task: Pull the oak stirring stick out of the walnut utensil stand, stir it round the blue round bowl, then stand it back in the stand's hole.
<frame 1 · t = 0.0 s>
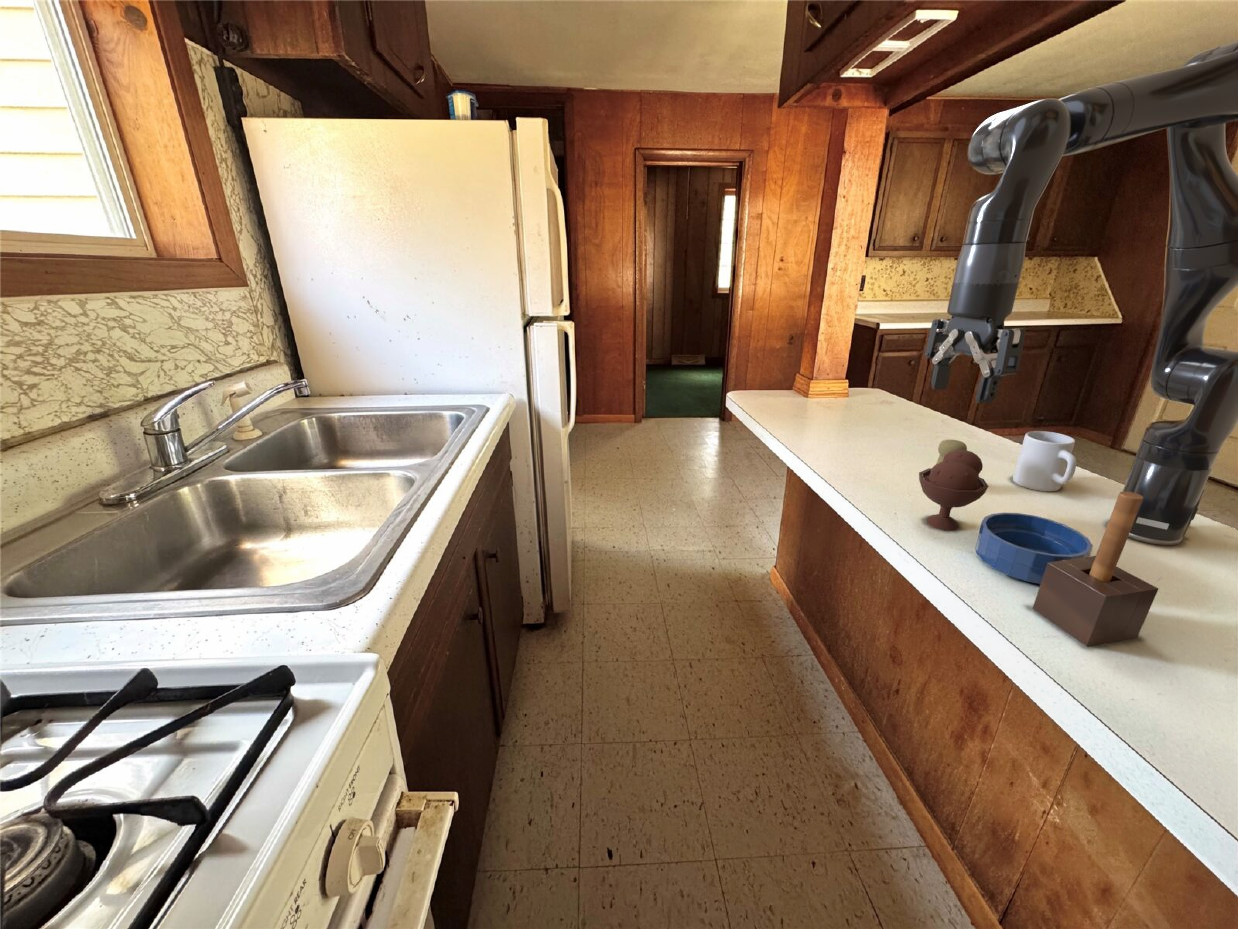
hand: (959, 395, 76), 29 cm above the countertop, tool pointing down, fingers open, 8 cm apart
ice cream bowl: (941, 524, 99), on the countertop
blue round bowl: (1024, 564, 85), on the countertop
cork: (943, 488, 113), on the countertop
mug: (1041, 487, 112), on the countertop
stirring stick: (1105, 562, 68), in the utensil stand
utensil stand: (1082, 622, 72), on the countertop
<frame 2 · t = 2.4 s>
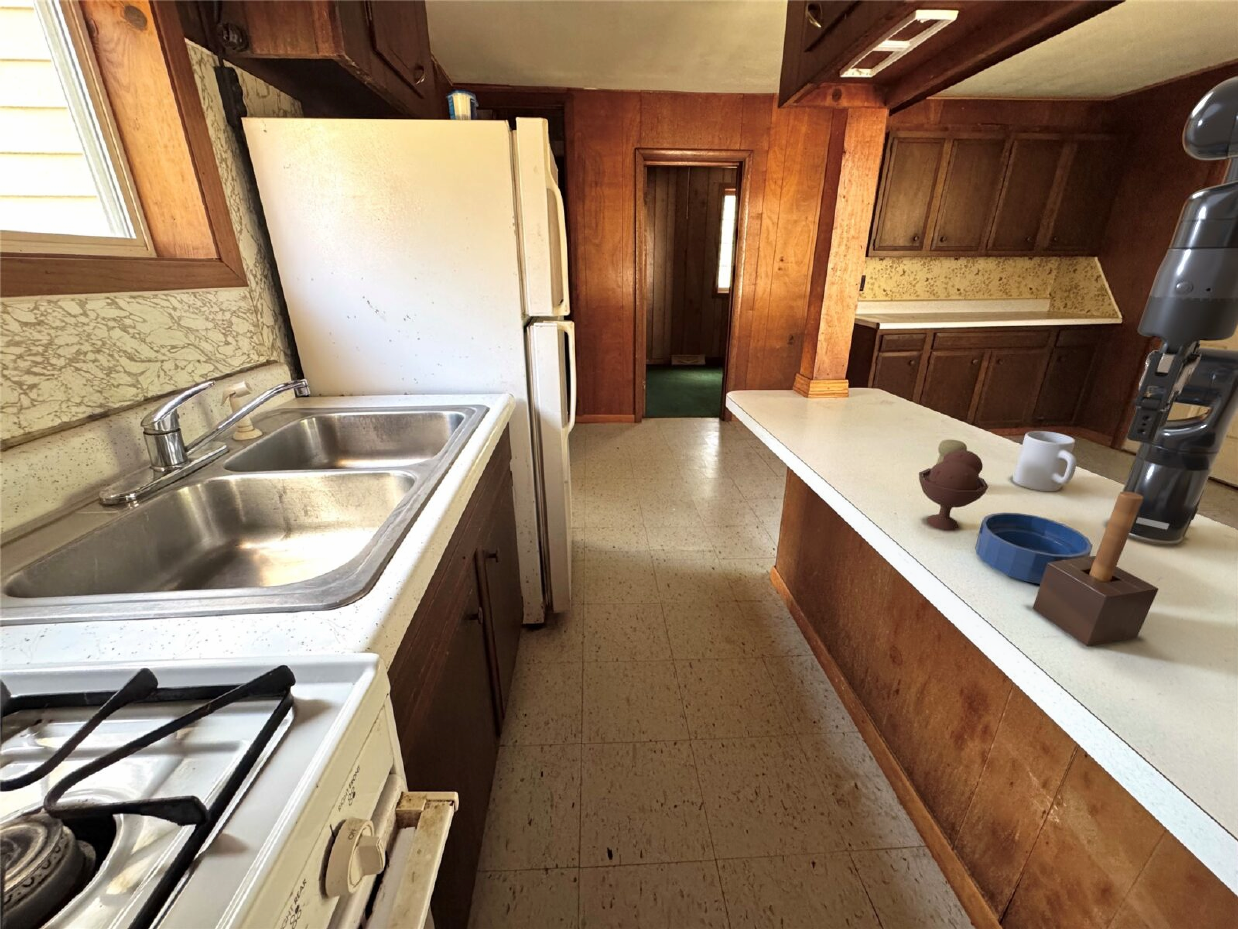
hand: (1145, 432, 62), 28 cm above the countertop, tool pointing down, fingers open, 8 cm apart
nothing on the countertop moved.
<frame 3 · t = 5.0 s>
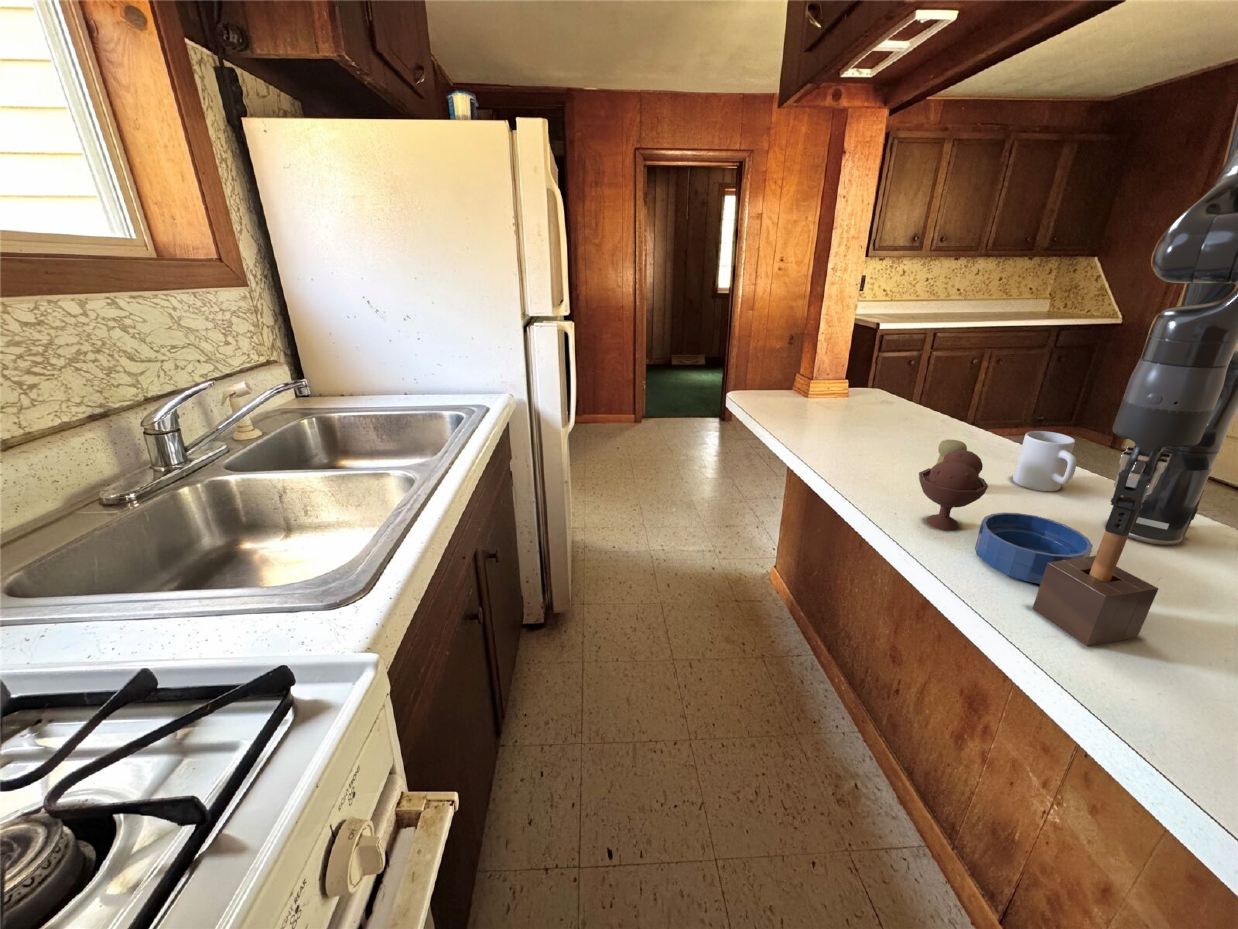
hand: (1118, 528, 66), 15 cm above the countertop, tool pointing down, fingers closed on stirring stick, 2 cm apart
stirring stick: (1105, 562, 68), in the utensil stand, touching gripper
everything else where it was.
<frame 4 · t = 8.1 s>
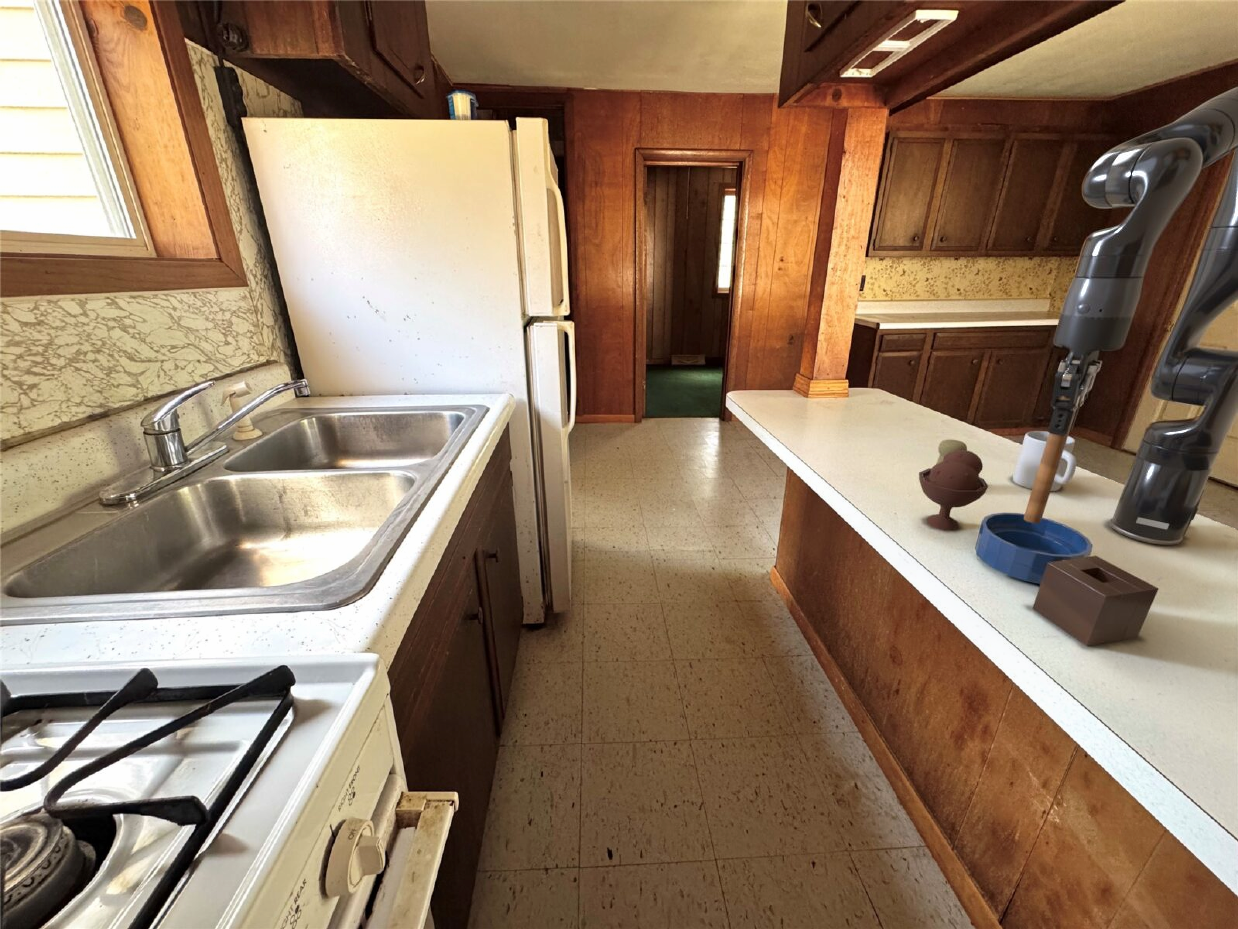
hand: (1059, 431, 76), 24 cm above the countertop, tool pointing down, fingers closed on stirring stick, 2 cm apart
stirring stick: (1049, 462, 78), point 18 cm above the countertop, touching gripper
everything else where it was.
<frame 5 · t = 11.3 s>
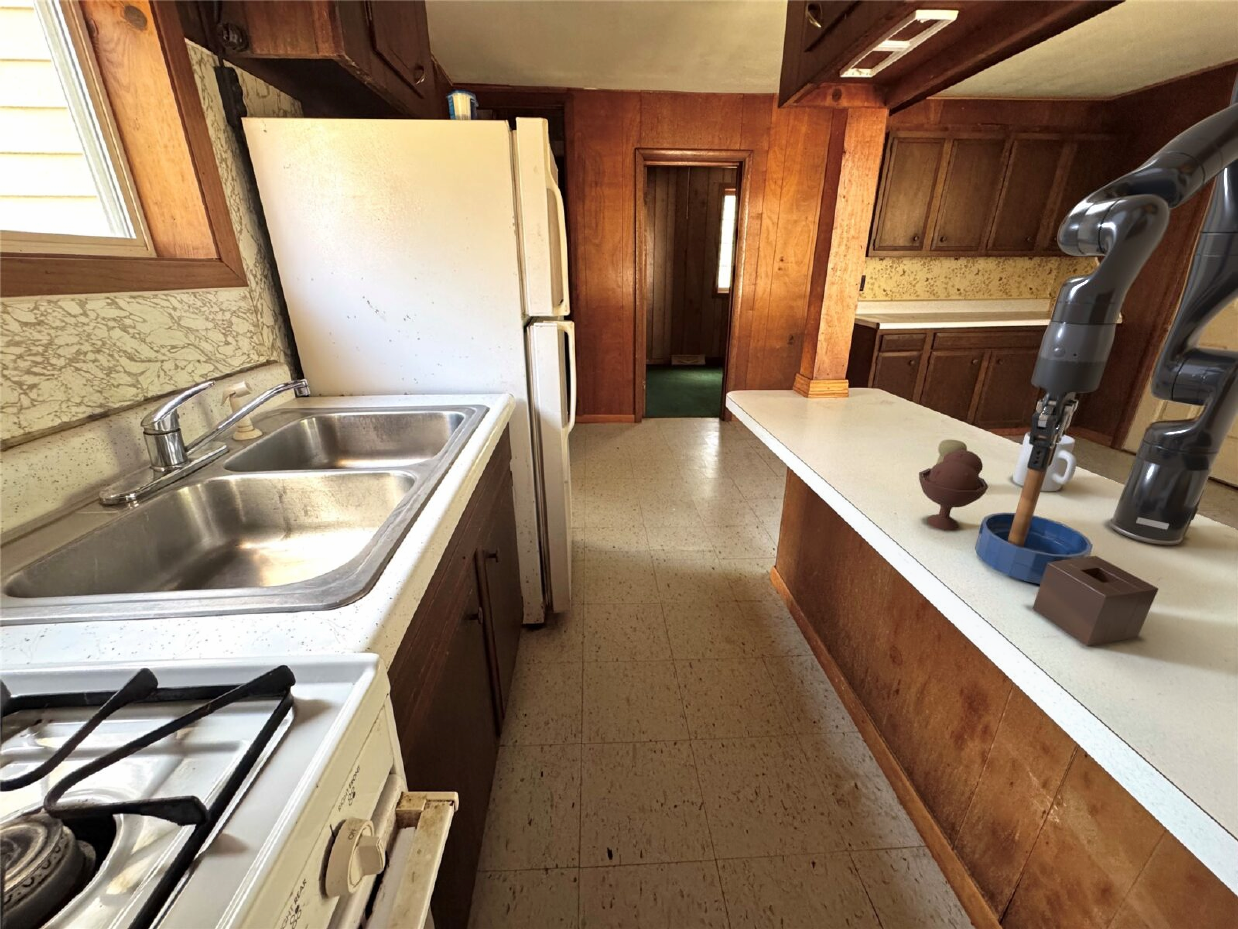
hand: (1038, 466, 79), 18 cm above the countertop, tool pointing down, fingers closed on stirring stick, 2 cm apart
stirring stick: (1029, 496, 81), point 13 cm above the countertop, touching gripper
everything else where it was.
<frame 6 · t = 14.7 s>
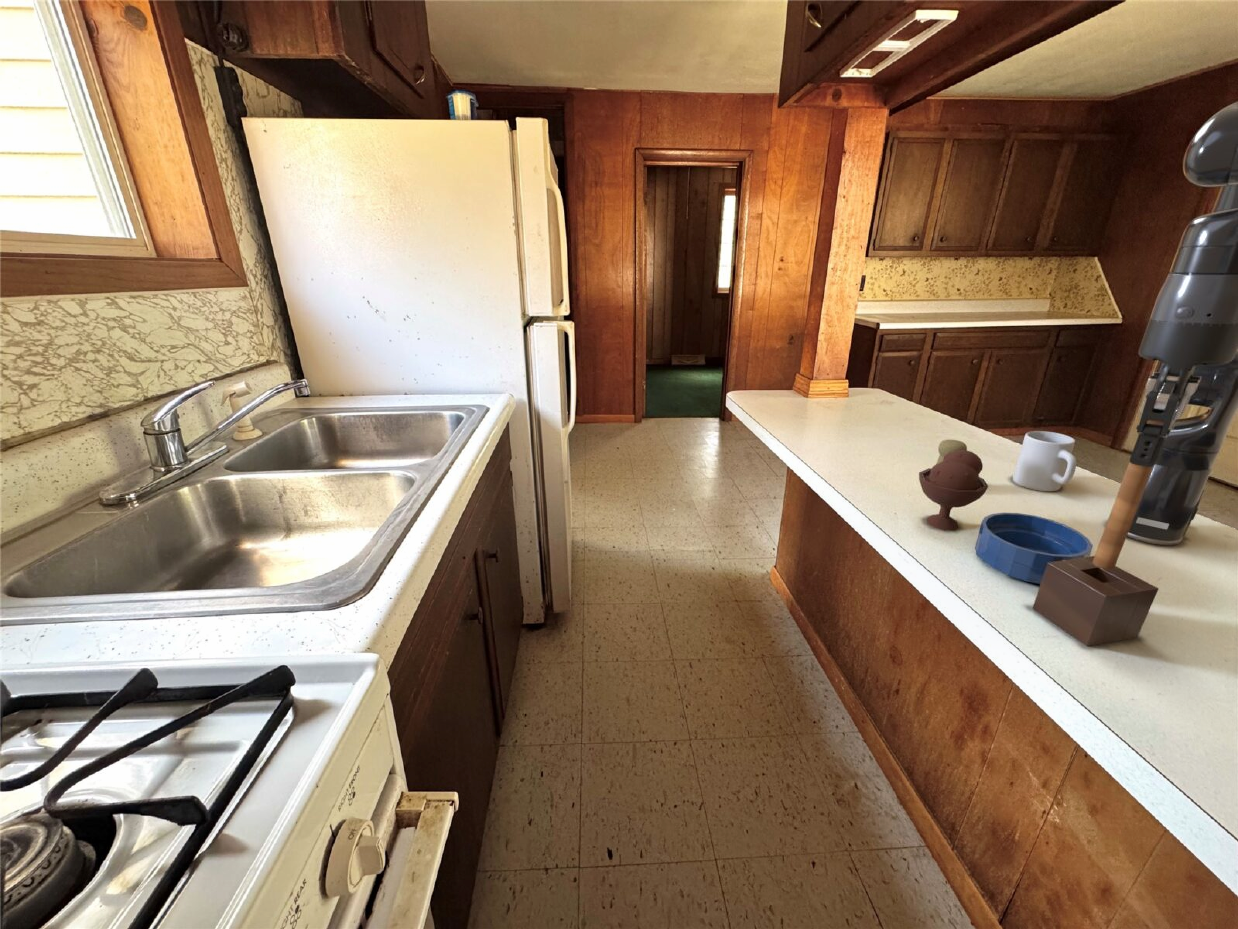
hand: (1143, 461, 63), 25 cm above the countertop, tool pointing down, fingers closed on stirring stick, 2 cm apart
stirring stick: (1128, 498, 65), point 20 cm above the countertop, touching gripper
everything else where it was.
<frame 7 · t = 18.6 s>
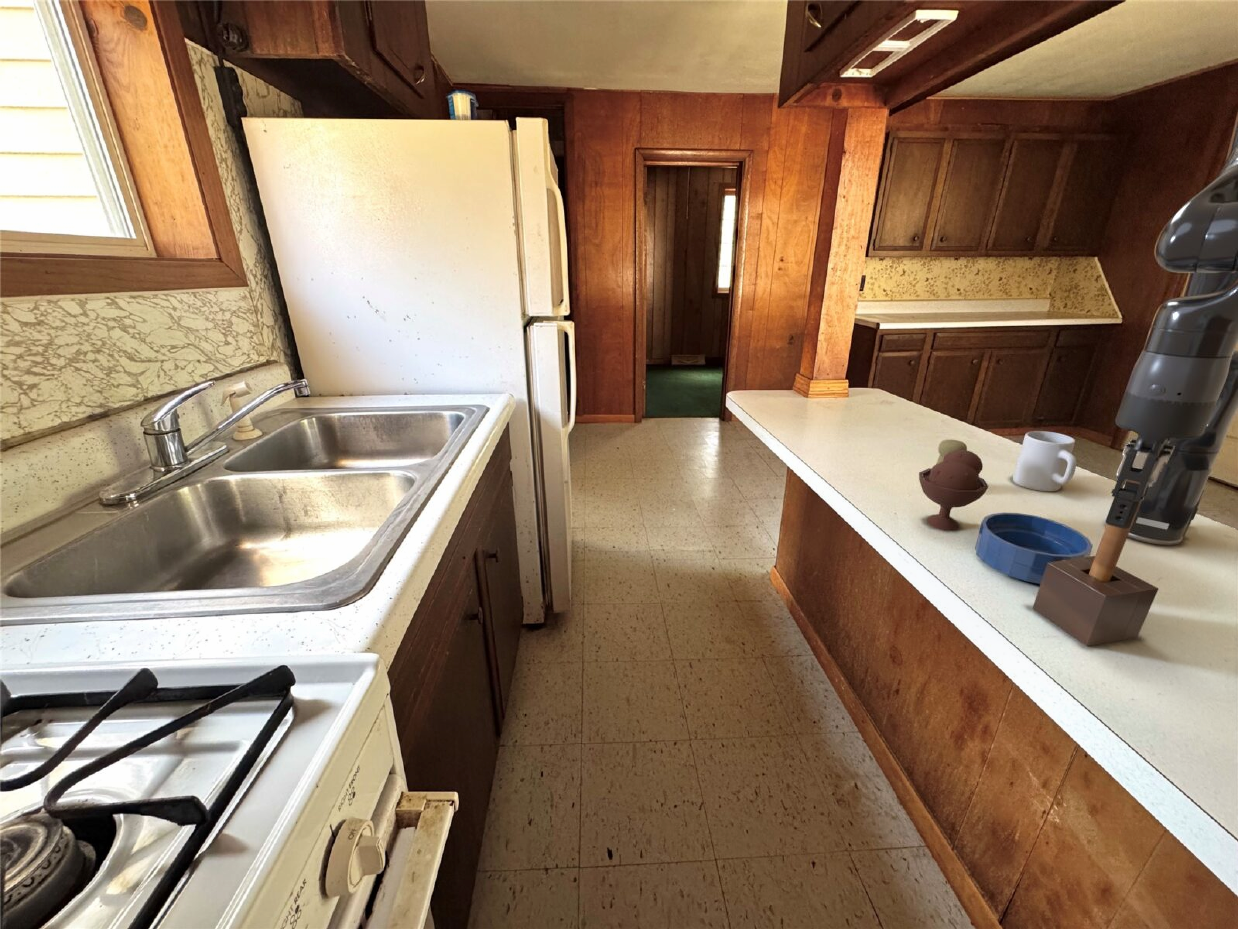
hand: (1123, 514, 65), 17 cm above the countertop, tool pointing down, fingers open, 8 cm apart
stirring stick: (1105, 562, 68), in the utensil stand
everything else where it was.
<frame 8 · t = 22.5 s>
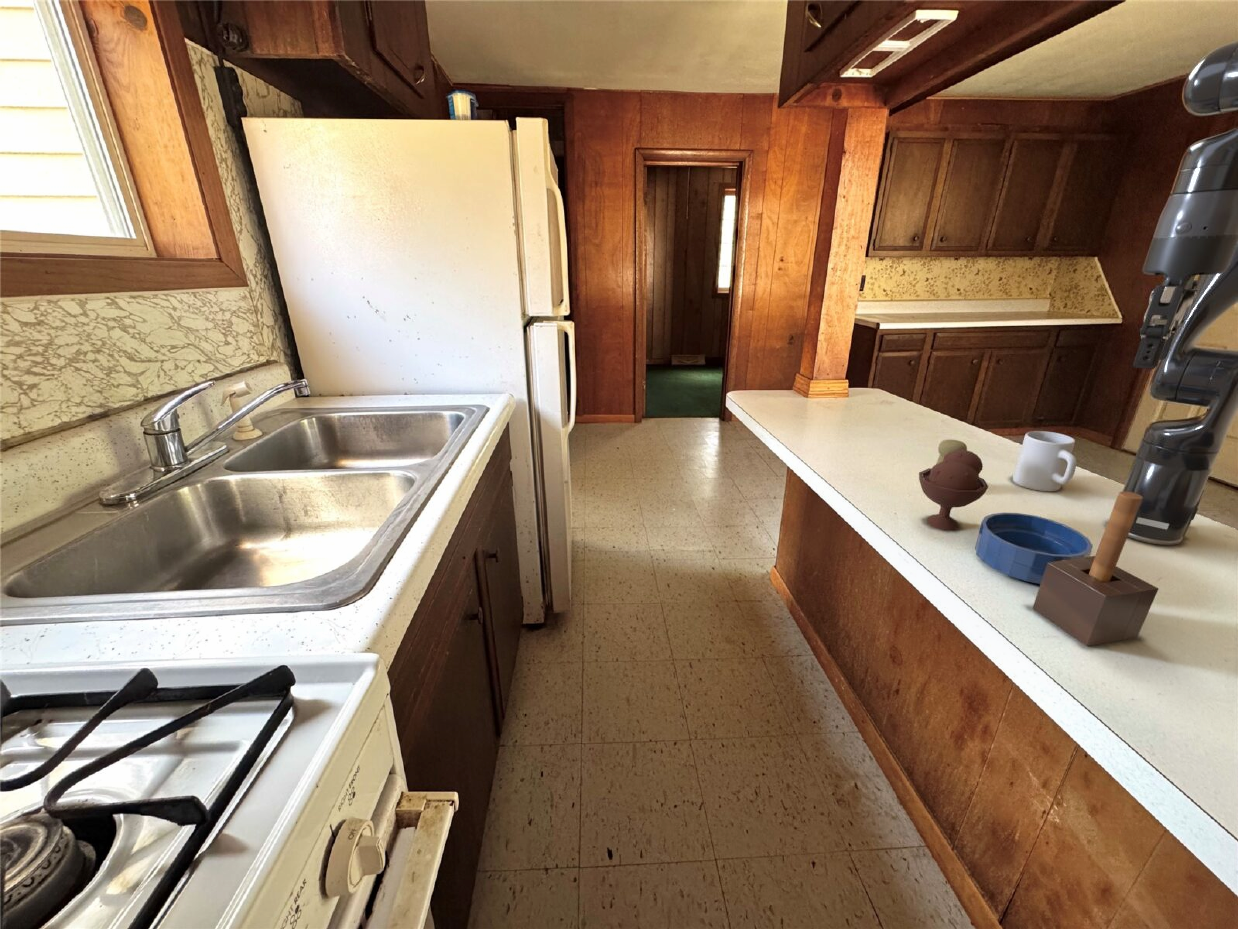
hand: (1149, 363, 70), 34 cm above the countertop, tool pointing down, fingers open, 8 cm apart
nothing on the countertop moved.
at the end: stirring stick 0.1 cm off-centre in the utensil stand, point 10.0 cm above the utensil stand's base; stirring stick tilted 0°; the gripper is holding nothing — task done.
